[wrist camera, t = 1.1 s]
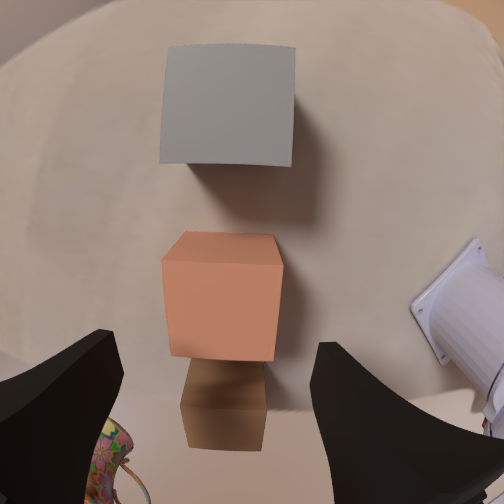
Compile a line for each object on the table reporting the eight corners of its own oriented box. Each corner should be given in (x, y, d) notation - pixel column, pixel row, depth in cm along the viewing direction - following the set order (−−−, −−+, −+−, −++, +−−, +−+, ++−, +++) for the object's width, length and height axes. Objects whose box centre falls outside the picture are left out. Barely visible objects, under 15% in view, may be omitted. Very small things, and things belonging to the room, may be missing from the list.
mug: (71, 430, 23) (42, 492, 13) (56, 383, 20) (10, 457, 10) (162, 463, 24) (147, 535, 14) (166, 425, 21) (144, 520, 11)
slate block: (280, 80, 13) (295, 47, 9) (276, 165, 15) (291, 166, 10) (191, 78, 13) (168, 46, 8) (186, 163, 15) (159, 163, 10)
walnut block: (262, 357, 19) (267, 410, 14) (258, 402, 20) (260, 451, 16) (192, 354, 19) (179, 405, 14) (197, 399, 20) (188, 447, 15)
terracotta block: (272, 234, 16) (283, 265, 11) (266, 310, 18) (273, 361, 13) (185, 231, 16) (161, 260, 11) (188, 307, 17) (171, 355, 13)
